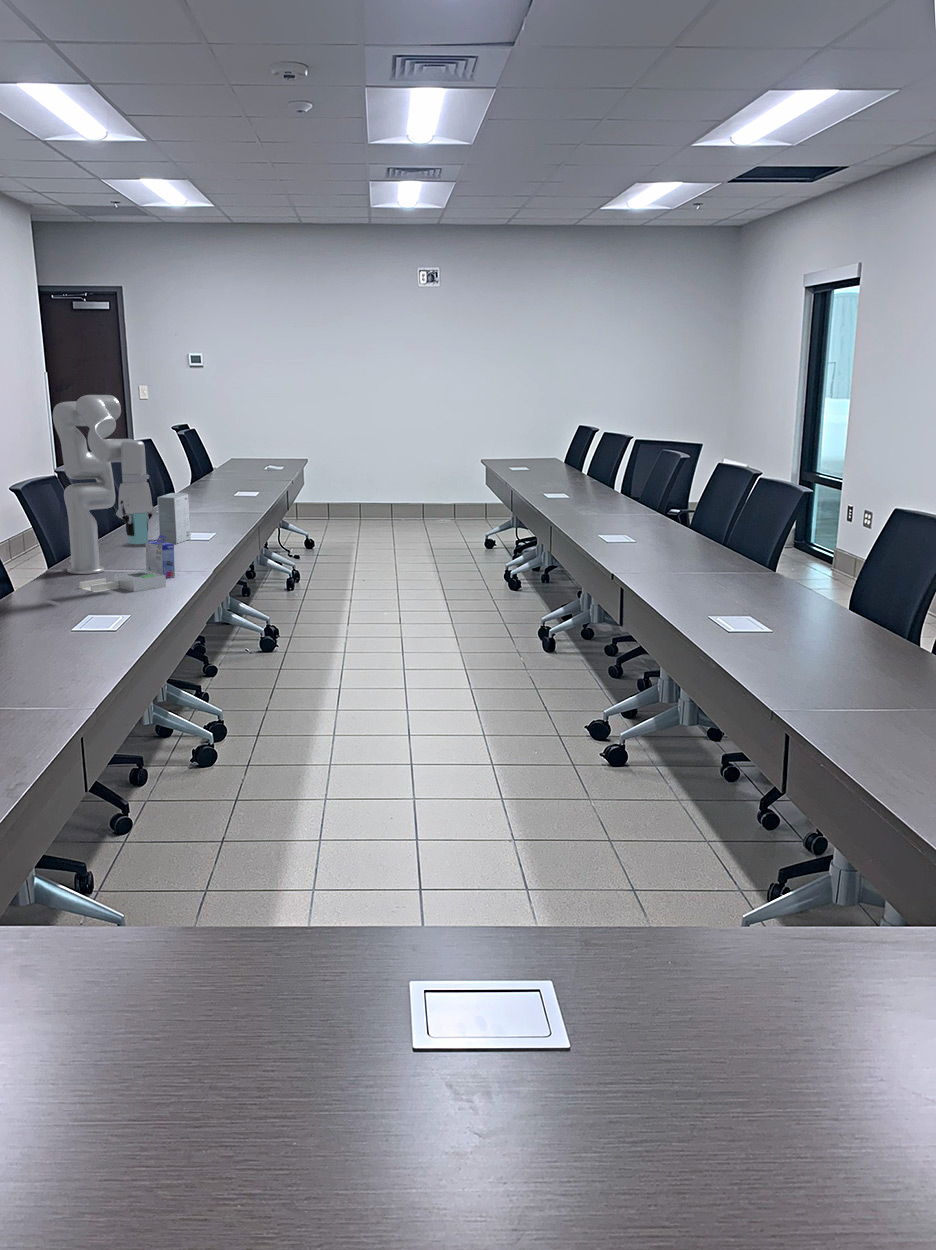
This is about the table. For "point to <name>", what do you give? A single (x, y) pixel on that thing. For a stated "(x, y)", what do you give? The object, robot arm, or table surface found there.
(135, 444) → the robot arm
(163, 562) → the ink cartridge box
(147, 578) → the port
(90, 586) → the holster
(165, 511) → the hard drive box
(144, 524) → the plug
